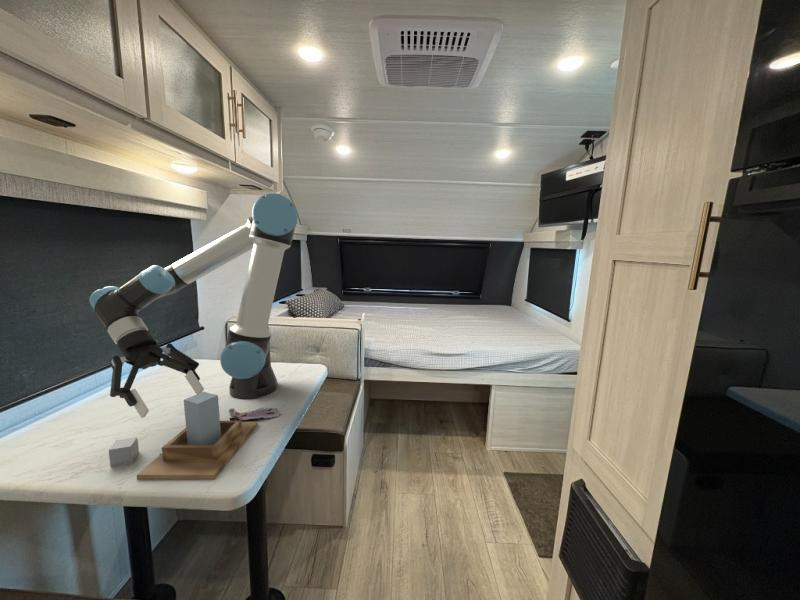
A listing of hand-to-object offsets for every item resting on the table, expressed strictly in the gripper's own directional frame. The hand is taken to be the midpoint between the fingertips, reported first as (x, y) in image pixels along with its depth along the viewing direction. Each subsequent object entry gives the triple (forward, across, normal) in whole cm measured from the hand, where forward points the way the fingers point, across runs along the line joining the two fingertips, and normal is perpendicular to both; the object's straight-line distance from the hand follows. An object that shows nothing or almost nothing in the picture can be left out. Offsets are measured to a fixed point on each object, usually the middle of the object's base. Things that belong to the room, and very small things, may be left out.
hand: (175, 402), depth 83 cm
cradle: (+14, 0, 0) cm, 14 cm away
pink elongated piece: (+14, -16, 0) cm, 21 cm away
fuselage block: (+13, 0, +1) cm, 13 cm away
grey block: (+5, +10, -9) cm, 15 cm away
